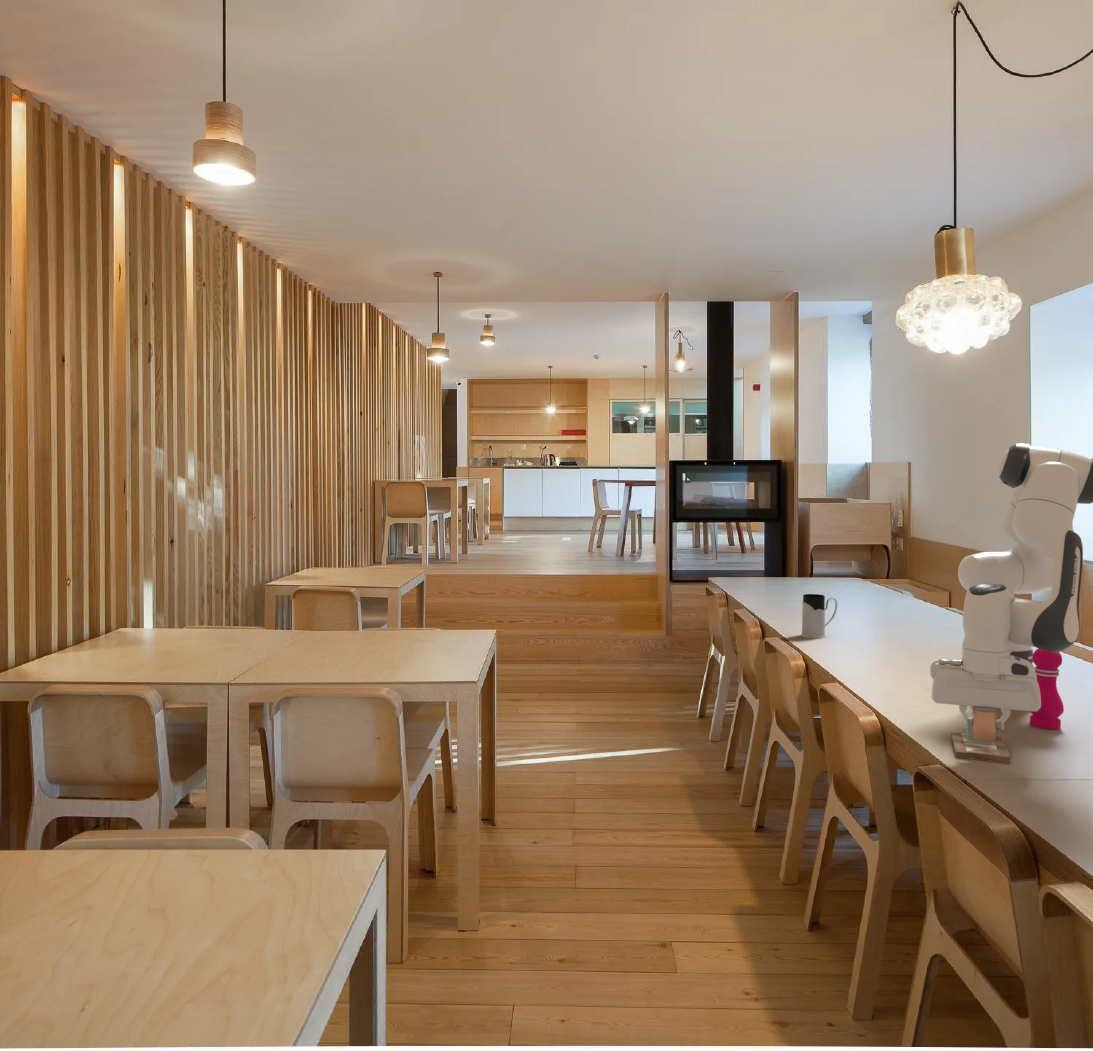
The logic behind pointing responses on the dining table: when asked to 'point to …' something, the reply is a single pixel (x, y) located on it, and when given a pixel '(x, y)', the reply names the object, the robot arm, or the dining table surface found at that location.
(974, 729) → the peach upright cylinder
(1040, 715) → the pepper mill
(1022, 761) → the dining table surface
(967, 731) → the teal block
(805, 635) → the glass holder
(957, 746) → the board
